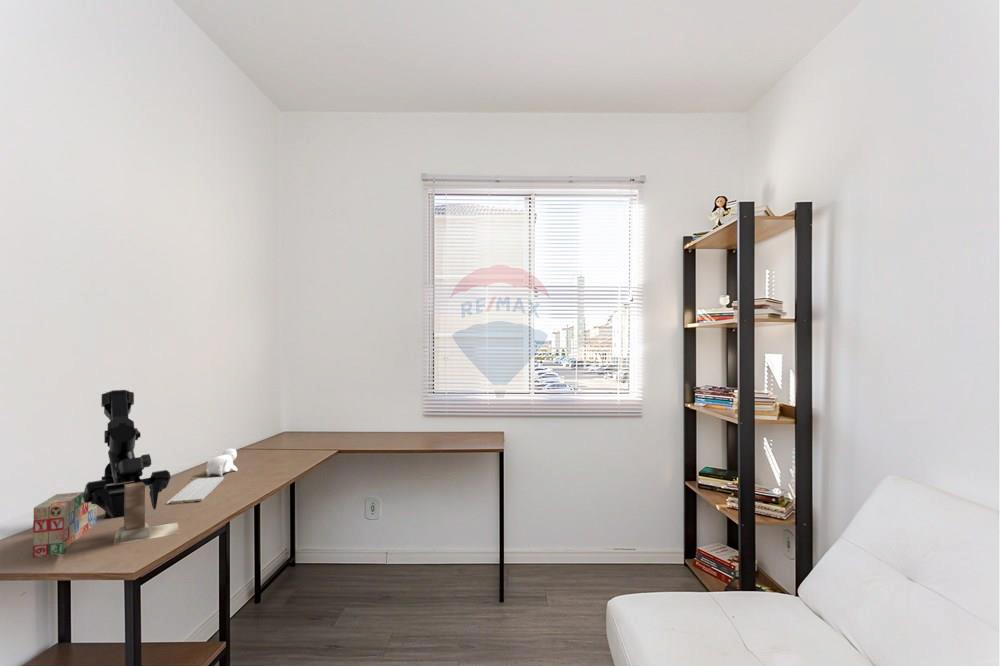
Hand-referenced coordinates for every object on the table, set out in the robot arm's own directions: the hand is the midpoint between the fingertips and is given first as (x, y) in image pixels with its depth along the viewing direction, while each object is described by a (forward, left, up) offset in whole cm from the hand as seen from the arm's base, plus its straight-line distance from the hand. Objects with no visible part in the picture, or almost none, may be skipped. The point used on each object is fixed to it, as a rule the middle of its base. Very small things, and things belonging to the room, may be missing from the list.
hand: (134, 512), depth 140 cm
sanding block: (0, -1, -6) cm, 6 cm away
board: (+3, +1, -7) cm, 8 cm away
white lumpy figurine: (+28, +73, -8) cm, 79 cm away
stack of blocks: (-15, +10, -8) cm, 19 cm away
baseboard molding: (+16, +47, -8) cm, 51 cm away
